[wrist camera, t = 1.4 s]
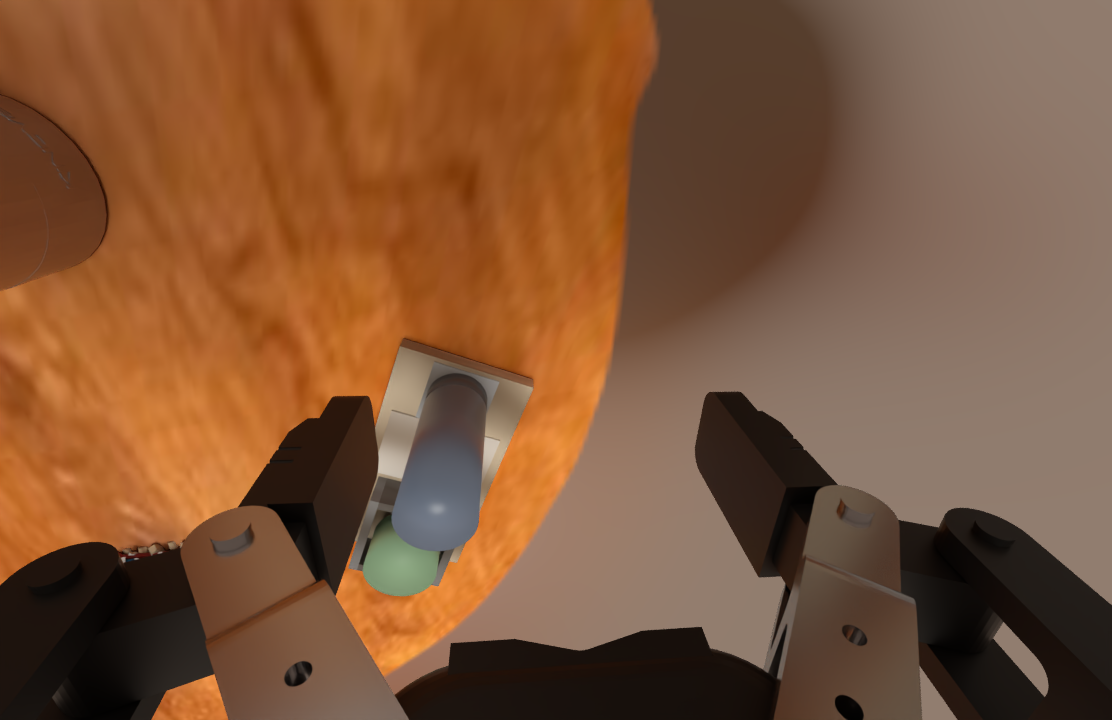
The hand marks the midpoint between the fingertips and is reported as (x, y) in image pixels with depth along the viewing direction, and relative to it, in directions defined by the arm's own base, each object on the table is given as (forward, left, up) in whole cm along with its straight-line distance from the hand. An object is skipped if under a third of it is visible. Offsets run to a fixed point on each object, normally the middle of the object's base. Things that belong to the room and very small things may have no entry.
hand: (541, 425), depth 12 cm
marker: (-9, -7, -19) cm, 22 cm away
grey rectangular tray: (-14, -11, -20) cm, 27 cm away
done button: (-18, -14, -17) cm, 28 cm away
